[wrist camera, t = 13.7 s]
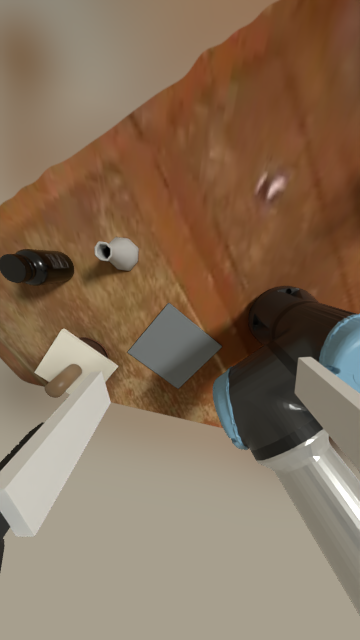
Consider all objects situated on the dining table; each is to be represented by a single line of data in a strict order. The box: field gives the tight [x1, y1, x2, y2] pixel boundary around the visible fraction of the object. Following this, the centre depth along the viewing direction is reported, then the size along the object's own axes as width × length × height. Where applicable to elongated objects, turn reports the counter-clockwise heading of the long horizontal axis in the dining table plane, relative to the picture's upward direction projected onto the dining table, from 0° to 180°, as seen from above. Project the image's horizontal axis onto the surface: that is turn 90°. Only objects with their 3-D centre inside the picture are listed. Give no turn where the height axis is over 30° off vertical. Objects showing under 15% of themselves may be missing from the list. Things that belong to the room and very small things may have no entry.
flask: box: [95, 237, 138, 271], centre depth 35 cm, size 7×7×10 cm
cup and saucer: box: [79, 337, 109, 359], centre depth 45 cm, size 12×12×6 cm
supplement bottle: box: [0, 249, 74, 286], centre depth 35 cm, size 7×7×12 cm
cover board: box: [34, 329, 118, 398], centre depth 39 cm, size 15×15×8 cm
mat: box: [128, 303, 222, 389], centre depth 46 cm, size 18×18×1 cm
